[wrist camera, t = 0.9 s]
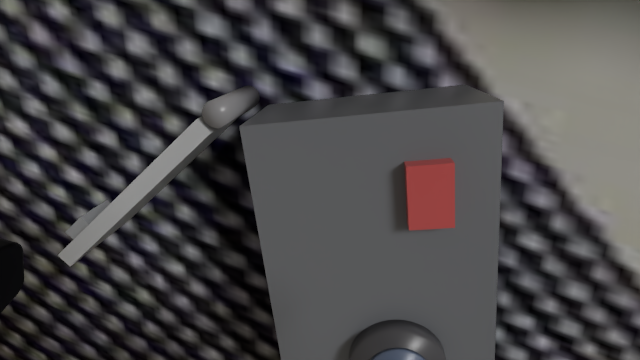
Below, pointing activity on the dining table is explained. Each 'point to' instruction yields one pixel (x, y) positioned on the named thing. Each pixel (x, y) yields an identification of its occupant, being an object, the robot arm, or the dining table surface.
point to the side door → (157, 173)
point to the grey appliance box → (380, 223)
